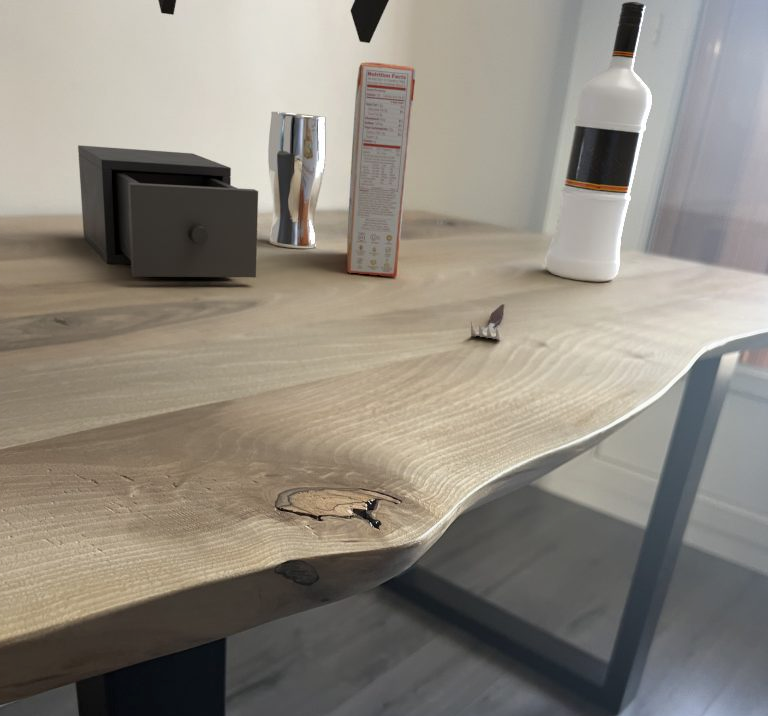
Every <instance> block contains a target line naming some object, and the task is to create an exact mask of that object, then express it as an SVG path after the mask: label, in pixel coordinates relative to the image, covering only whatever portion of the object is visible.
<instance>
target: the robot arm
mask: <svg viewBox="0 0 768 716" xmlns="http://www.w3.org/2000/svg"><path fill="white" fill-rule="evenodd" d="M157 1H158V5H159V9H160V13H161V14H164V15H165V14H166V15H174V14H175V9H176V5H177V0H157ZM389 2H390V0H354V1H353V3H352V5H351V8H350V11H349V12H350V14H351V16H352V21H353V25H354V27H355V30H356V31H355V32H356V34H357V37H358V41H359V42H361V43H364V44H365V43H366V44H370V43H371V41H372V38H373V36H374V35H375V32H376V30H377V28H378V26H379V23H380V21H381V19H382V16H383V15H384V12H385V10H386V8H387V5H388V4H389Z"/></svg>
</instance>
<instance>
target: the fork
mask: <svg viewBox="0 0 768 716" xmlns="http://www.w3.org/2000/svg"><path fill="white" fill-rule="evenodd" d="M504 309H505V304H503V303H502V304H500V305H499V306H498V307H497V308H495V309H494V310H493V311H492V313H491V314H490V317H489V324H487V326H485V328H482V324H481V323H479V327H478V332H479V334H476V331H475V328H474V324H473V321H471V322H470V335H471V336H472V335H474V336H473V337H476V336H480V337H479V338H482V337H487V338H486V339H488V338H493V339H492V340H494V339H501V340H502V338H501V336H500V333H499V326H498V324H499V323H501V322H502V321H503V319H504V311H505V310H504ZM494 327H495V329H494ZM483 332H486V333H487V335H484V334H483ZM491 333H493V334H494V333H496V336H492V335H491Z"/></svg>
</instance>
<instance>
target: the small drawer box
mask: <svg viewBox="0 0 768 716" xmlns="http://www.w3.org/2000/svg"><path fill="white" fill-rule="evenodd" d="M77 152H78V153H77V154H78V167H79V183H80V184H79V185H80V198H81V212H82V213H81V214H82V216H81V217H82V229H83V238H84V239H85V240H86V242H87V243H88V244H89V245H90V246H91V247H92V248H93V250H94V251H95V252H96V253H97V254H98V255H99V256H100V258H101V259H102V260H103V261H104V262H105V263H106V264H108V265H131V260H130V259H129V258H128V257H127V256H126V255H125V254H124V253H123V252H122V251H121V250H120V249H119V248H118V247H117V246H116V245H115V233H114V212H113V191H112V170H119V171H136V172H153V173H169V174H186V175H204V176H210V177H213V178H215V179H217V180H220V181H222V182H224V183H227V184H229V185H231V182H232V181H231V179H232V178H231V177H232V168H231V167H230V166H227V165H224V164H222V163H219V162H217V161H214V160H211V159H208V158H206V157H204V156H200V155H198V154H195V153H193V152H192V153H191V152H180V151H179V152H178V151H166V150H165V151H164V150H163V151H162V150H149V149H135V148H122V147H109V146H93V145H80V144H79V145H77ZM231 186H232V185H231Z"/></svg>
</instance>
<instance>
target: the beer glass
mask: <svg viewBox="0 0 768 716" xmlns="http://www.w3.org/2000/svg"><path fill="white" fill-rule="evenodd" d="M326 124H327V118H326V117H325V116H322V115H321V116H320V115H312V114H304V113H295V112H283V111H271V112H270V124H269V131H268V132H269V133H268V144H267V145H268V147H267V163H268V175H269V183H270V190H271V191H270V192H271V199H272V222H271V226H270V227H271V228H270V233H269V237H268V243H269V244H270V245H272V246H276V247H281V248H288V249H303V250H304V249H305V250H306V249H314V248H316V247H317V244H318V243H317V233H316V213H317V212H316V211H317V210H316V209H317V205H318V202H319V201H318V200H319V196H320V192H321V188H322V184H323V176H324V172H325V166H326V154H327V153H326V152H327V132H326V131H327V127H326V126H327V125H326Z"/></svg>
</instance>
